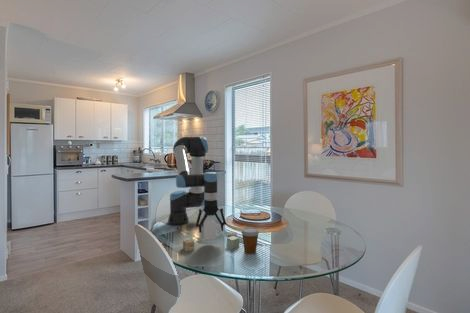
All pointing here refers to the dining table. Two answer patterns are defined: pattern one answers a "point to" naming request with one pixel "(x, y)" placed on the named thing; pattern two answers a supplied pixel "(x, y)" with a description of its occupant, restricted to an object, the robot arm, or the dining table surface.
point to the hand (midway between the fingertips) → (211, 237)
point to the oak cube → (188, 244)
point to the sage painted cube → (232, 242)
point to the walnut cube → (232, 234)
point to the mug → (210, 229)
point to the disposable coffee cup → (250, 239)
